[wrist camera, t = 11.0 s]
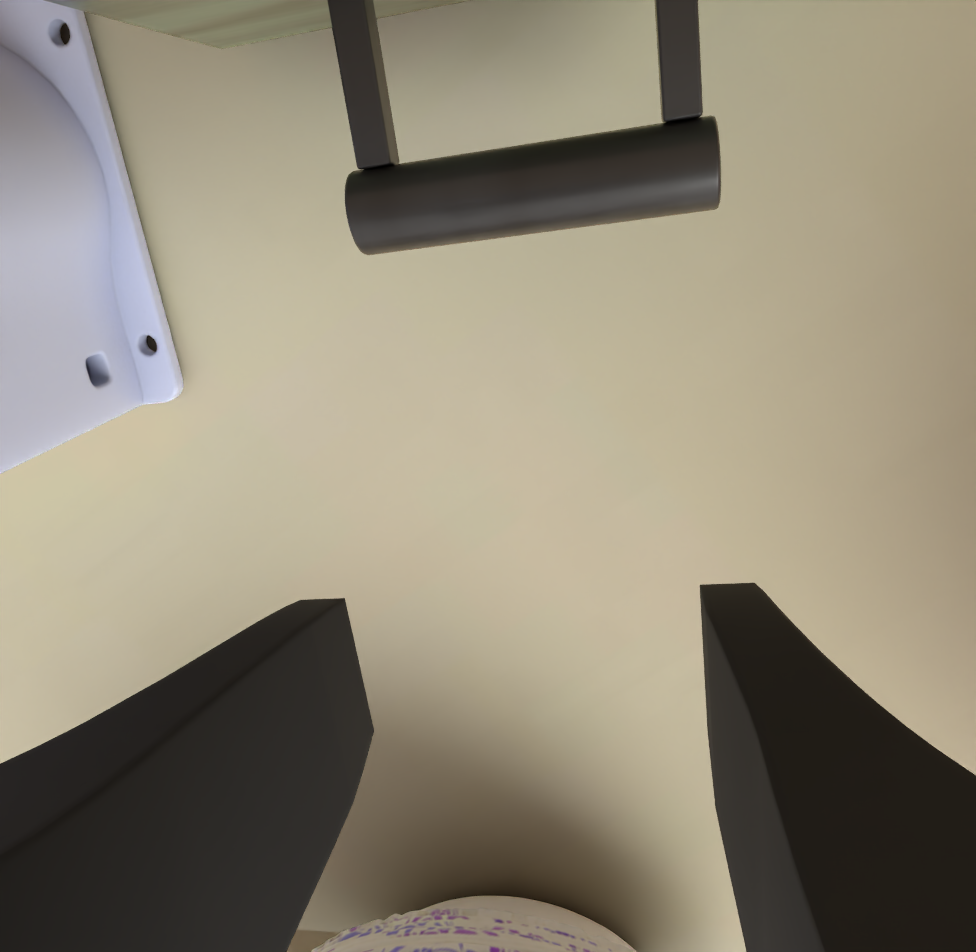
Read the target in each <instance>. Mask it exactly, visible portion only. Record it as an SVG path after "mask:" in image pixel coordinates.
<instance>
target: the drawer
mask: <svg viewBox="0 0 976 952" xmlns="http://www.w3.org/2000/svg"><path fill="white" fill-rule="evenodd" d="M44 1H48V2H52V3H55V4H59V5H62V6H66V7H70V8H73V9H77V10H81V11H84V12H88V13H92V14H95V15H99V16H103V17H106V18H110V19H114V20H117V21H121V22H124V23H128V24H132V25H135V26H139V27H143V28H146V29H150V30H154V31H157V32H161V33H165V34H168V35H172V36H176V37H179V38H183V39H187V40H190V41H194V42H197V43H201V44H205V45H208V46H212V47H216V48H219V49H224V48H230V47H235V46H240V45H245V44H250V43H255V42H260V41H265V40H270V39H275V38H281V37H286V36H291V35H296V34H301V33H306V32H311V31H316V30H321V29H327V28H332V29H333V35H334V41H335V46H336V52H337V57H338V63H339V68H340V74H341V80H342V85H343V91H344V96H345V102H346V107H347V113H348V119H349V124H350V130H351V135H352V141H353V146H354V152H355V158H356V163H357V167H358V169H364V170H357V171H353V172H352V173H350V174H349V175H348V177H347V180H346V185H345V206H346V214H347V219H348V223H349V227H350V230H351V233H352V236H353V239H354V241H355V243H356V245H357V247H358V248H359V250H360V251H361V252H362V253H364V254H366V255H374V254H381V253H389V252H397V251H404V250H412V249H419V248H427V247H434V246H442V245H450V244H457V243H465V242H472V241H480V240H488V239H495V238H503V237H510V236H518V235H526V234H533V233H541V232H548V231H556V230H564V229H571V228H579V227H586V226H594V225H602V224H609V223H617V222H624V221H632V220H640V219H647V218H655V217H662V216H670V215H678V214H685V213H693V212H700V211H708V210H715V209H717V208H718V206H719V203H720V195H721V161H720V144H719V133H718V126H717V122H716V119H715V117H714V116H705V117H700V116H701V115H702V113H703V107H702V84H701V61H700V38H699V15H698V0H655V14H656V31H657V48H658V65H659V82H660V99H661V116H662V121H663V123H660V124H653V125H647V126H641V127H634V128H628V129H621V130H615V131H608V132H602V133H595V134H589V135H583V136H576V137H570V138H563V139H557V140H550V141H544V142H537V143H531V144H525V145H518V146H512V147H505V148H499V149H492V150H486V151H480V152H473V153H467V154H460V155H454V156H447V157H441V158H434V159H428V160H422V161H415V162H409V163H402V164H399V156H398V150H397V144H396V138H395V132H394V125H393V119H392V113H391V107H390V101H389V95H388V89H387V82H386V76H385V70H384V64H383V58H382V52H381V46H380V39H379V33H378V27H377V21H376V19H378V18H383V17H388V16H393V15H398V14H403V13H408V12H413V11H418V10H423V9H429V8H434V7H439V6H444V5H449V4H454V3H459V2H464V1H469V0H44Z"/></svg>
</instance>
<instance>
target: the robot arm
mask: <svg viewBox="0 0 976 952" xmlns="http://www.w3.org/2000/svg"><path fill="white" fill-rule="evenodd" d="M64 23H66V24H67V26H68V28H69V30H70V39H69V42H68V43H67V44H66V45H65V44H64V43H63V41H62V39H61V36H60V29H61V27H62V25H63V24H64ZM148 335H150V336H151V337H152V338H153V339H154V340H155V342H156V343H157V351H156V352H154V351H152V350H151V349H150V348H149V347H148V345H147V339H146V338H147V336H148ZM183 387H184V385H183V377H182V373H181V370H180V366H179V362H178V359H177V355H176V351H175V347H174V344H173V340H172V336H171V333H170V329H169V325H168V322H167V318H166V314H165V310H164V307H163V303H162V299H161V296H160V292H159V288H158V285H157V281H156V277H155V274H154V270H153V266H152V262H151V259H150V255H149V251H148V248H147V244H146V240H145V237H144V233H143V229H142V225H141V222H140V218H139V214H138V211H137V207H136V203H135V200H134V196H133V192H132V188H131V185H130V181H129V177H128V174H127V170H126V166H125V163H124V159H123V155H122V151H121V148H120V144H119V140H118V137H117V133H116V129H115V126H114V122H113V118H112V114H111V111H110V107H109V103H108V100H107V96H106V92H105V89H104V85H103V81H102V77H101V74H100V70H99V66H98V63H97V59H96V55H95V52H94V48H93V44H92V40H91V37H90V33H89V29H88V26H87V22H86V18H85V15H84V11H81V10H77V9H73V8H70V7H66V6H62V5H59V4H55V3H52V2H48V1H44V0H0V474H1V473H3V472H5V471H7V470H9V469H11V468H13V467H15V466H18V465H20V464H22V463H24V462H26V461H28V460H30V459H32V458H34V457H36V456H38V455H40V454H42V453H44V452H46V451H48V450H50V449H53V448H55V447H57V446H59V445H61V444H63V443H65V442H67V441H69V440H71V439H73V438H75V437H77V436H79V435H81V434H83V433H85V432H88V431H90V430H92V429H94V428H96V427H98V426H100V425H102V424H104V423H106V422H108V421H110V420H112V419H114V418H116V417H118V416H120V415H123V414H125V413H127V412H129V411H131V410H133V409H135V408H137V407H139V406H141V405H144V404H154V403H164V402H168V401H171V400H173V399H175V398H177V397H178V396H179V395H180V394H181V393H182V390H183ZM700 598H701V616H702V635H703V653H704V672H705V690H706V709H707V727H708V739H709V748H710V758H711V768H712V778H713V787H714V797H715V806H716V812H717V817H718V821H719V826H720V831H721V835H722V840H723V845H724V849H725V854H726V859H727V863H728V868H729V873H730V877H731V882H732V886H733V891H734V896H735V900H736V905H737V909H738V914H739V919H740V923H741V928H742V932H743V937H744V942H745V946H746V951H747V952H976V775H974V774H973V773H971V772H970V771H968V770H967V769H965V768H964V767H962V766H961V765H959V764H958V763H957V762H955V761H954V760H952V759H951V758H949V757H948V756H946V755H945V754H943V753H942V752H940V751H939V750H937V749H936V748H935V747H933V746H932V745H931V744H929V743H928V742H926V741H925V740H924V739H922V738H921V737H920V736H918V735H917V734H916V733H914V732H913V731H912V730H910V729H909V728H908V727H906V726H905V725H904V724H903V723H901V722H900V721H899V720H898V719H896V718H895V717H894V716H893V715H892V714H890V713H889V712H888V711H887V710H885V709H884V708H883V707H882V706H880V705H879V704H878V703H877V702H876V701H874V700H873V699H872V698H871V697H870V696H869V695H868V694H866V693H865V692H864V691H863V690H862V689H861V688H860V687H858V686H857V685H856V684H855V683H854V682H853V681H852V680H851V679H850V678H849V677H847V676H846V675H845V674H844V673H843V672H842V671H841V670H840V669H839V668H838V667H837V666H836V665H835V664H834V663H832V662H831V661H830V660H829V659H828V658H827V657H826V656H825V655H824V654H823V653H822V652H821V651H820V650H819V649H818V648H817V647H816V646H815V645H814V644H813V643H812V642H811V641H810V640H809V639H808V638H807V637H806V636H805V635H804V634H803V633H802V632H801V631H800V630H799V629H798V628H797V627H796V626H795V625H794V624H793V623H792V622H791V621H790V620H789V619H788V617H787V616H786V615H785V614H784V613H783V612H782V611H781V610H780V609H779V608H778V607H777V605H776V604H775V603H774V602H773V601H772V600H771V599H770V598H769V596H768V595H767V594H766V593H765V592H764V591H763V590H762V589H761V588H760V587H758V586H757V585H756V584H755V583H737V584H711V585H700ZM373 733H374V728H373V724H372V719H371V715H370V710H369V706H368V701H367V697H366V692H365V688H364V683H363V679H362V674H361V670H360V665H359V661H358V656H357V652H356V647H355V643H354V638H353V634H352V629H351V625H350V620H349V616H348V611H347V607H346V602H345V598H341V599H314V600H300V601H297V602H295V603H293V604H291V605H288V606H286V607H284V608H282V609H280V610H278V611H276V612H275V613H273V614H271V615H269V616H267V617H265V618H264V619H262V620H260V621H258V622H257V623H255V624H253V625H252V626H250V627H248V628H246V629H245V630H243V631H241V632H240V633H238V634H236V635H235V636H233V637H231V638H230V639H228V640H226V641H225V642H223V643H221V644H220V645H218V646H216V647H215V648H213V649H211V650H210V651H208V652H206V653H205V654H203V655H201V656H200V657H198V658H196V659H195V660H193V661H191V662H190V663H188V664H187V665H185V666H183V667H182V668H180V669H178V670H177V671H175V672H173V673H172V674H170V675H168V676H166V677H165V678H163V679H161V680H159V681H158V682H156V683H154V684H152V685H151V686H149V687H147V688H145V689H143V690H142V691H140V692H138V693H136V694H135V695H133V696H131V697H129V698H127V699H126V700H124V701H122V702H120V703H119V704H117V705H115V706H113V707H111V708H110V709H108V710H106V711H104V712H103V713H101V714H99V715H97V716H95V717H94V718H92V719H90V720H88V721H86V722H84V723H83V724H81V725H79V726H77V727H75V728H73V729H71V730H69V731H67V732H65V733H63V734H61V735H59V736H57V737H55V738H53V739H51V740H49V741H47V742H45V743H43V744H41V745H39V746H37V747H35V748H33V749H31V750H29V751H27V752H24V753H22V754H20V755H18V756H16V757H14V758H12V759H10V760H7V761H5V762H3V763H1V764H0V952H286V951H287V949H288V947H289V945H290V943H291V940H292V938H293V936H294V934H295V932H296V929H297V927H298V925H299V923H300V920H301V918H302V916H303V914H304V912H305V909H306V907H307V905H308V903H309V901H310V898H311V896H312V894H313V892H314V890H315V887H316V885H317V883H318V881H319V879H320V876H321V874H322V872H323V870H324V868H325V865H326V863H327V861H328V859H329V857H330V854H331V852H332V850H333V847H334V845H335V843H336V841H337V838H338V836H339V834H340V832H341V829H342V827H343V825H344V823H345V820H346V818H347V816H348V813H349V811H350V809H351V806H352V804H353V802H354V798H355V795H356V792H357V789H358V785H359V782H360V779H361V776H362V773H363V769H364V766H365V762H366V758H367V755H368V751H369V747H370V744H371V740H372V736H373Z"/></svg>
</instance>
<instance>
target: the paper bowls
mask: <svg viewBox="0 0 976 952" xmlns="http://www.w3.org/2000/svg"><path fill="white" fill-rule="evenodd" d="M311 952H637V951H636V950H635V949H634V948H632V947H631V946H630V945H629V944H627V943H626V942H625V941H624V940H622V939H621V938H620V937H619V936H617V935H616V934H615V933H613V932H612V931H610V930H609V929H607V928H605V927H604V926H602V925H600V924H598V923H596V922H594V921H592V920H590V919H588V918H586V917H584V916H582V915H579V914H577V913H575V912H572V911H570V910H567V909H564V908H562V907H559V906H556V905H552V904H548V903H545V902H541V901H536V900H531V899H526V898H520V897H511V896H472V897H464V898H458V899H453V900H448V901H445V902H441V903H438V904H434V905H431V906H429V907H426V908H424V909H422V910H416V911H410V912H407V913H405V914H403V915H399V914H396V913H395V914H393V915H391V916H389V917H388V918H387V919H385V920H381V919H376V920H374V921H371V922H368V923H365V924H361V925H359V926H356V927H353V928H351V929H348V930H343V931H342V932H341V933H339V934H338V935H337V936H335V937H332V938H330V939H328V940H326V941H325V943H324V944H322V945H320V946H318V947H315V948H314V949H313V950H312V951H311Z"/></svg>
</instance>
